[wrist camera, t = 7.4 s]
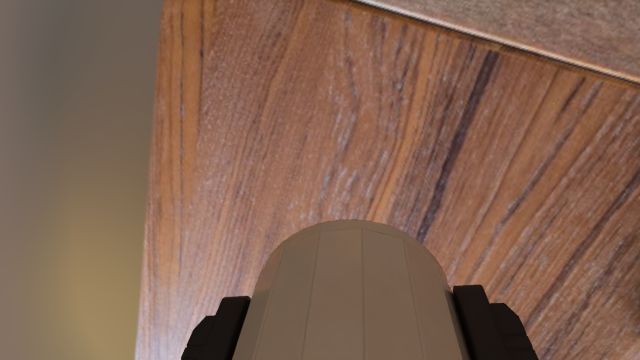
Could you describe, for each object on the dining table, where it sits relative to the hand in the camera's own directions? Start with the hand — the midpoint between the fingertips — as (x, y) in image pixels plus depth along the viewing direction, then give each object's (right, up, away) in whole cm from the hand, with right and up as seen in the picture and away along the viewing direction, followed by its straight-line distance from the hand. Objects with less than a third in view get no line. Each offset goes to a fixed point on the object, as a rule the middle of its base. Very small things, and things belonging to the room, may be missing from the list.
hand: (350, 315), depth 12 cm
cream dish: (0, 0, +1) cm, 1 cm away
